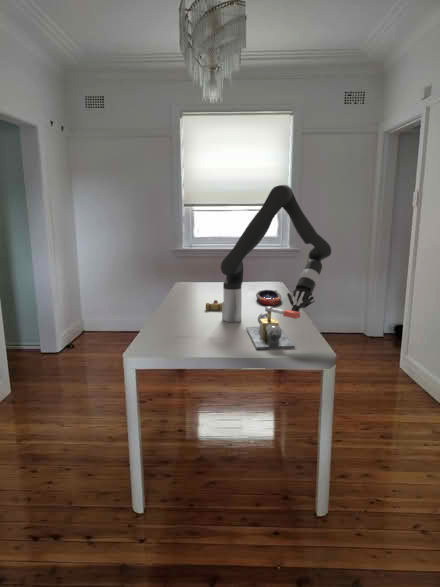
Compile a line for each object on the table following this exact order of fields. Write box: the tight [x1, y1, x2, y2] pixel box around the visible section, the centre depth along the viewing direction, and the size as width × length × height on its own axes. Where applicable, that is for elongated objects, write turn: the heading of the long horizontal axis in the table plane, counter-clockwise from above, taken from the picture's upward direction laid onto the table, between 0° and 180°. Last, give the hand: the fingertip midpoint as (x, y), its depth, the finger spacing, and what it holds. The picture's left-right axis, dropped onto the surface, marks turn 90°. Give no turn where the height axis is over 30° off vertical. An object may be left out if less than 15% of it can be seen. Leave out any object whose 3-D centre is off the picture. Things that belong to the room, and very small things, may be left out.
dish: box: [255, 289, 282, 306], centre depth 236 cm, size 16×31×5 cm, turn 175°
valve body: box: [245, 312, 296, 351], centre depth 167 cm, size 27×16×12 cm, turn 5°
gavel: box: [205, 299, 222, 312], centre depth 224 cm, size 21×5×10 cm
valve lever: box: [264, 305, 301, 319], centre depth 161 cm, size 17×4×2 cm, turn 45°
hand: (293, 314), depth 159 cm, fingers closed
